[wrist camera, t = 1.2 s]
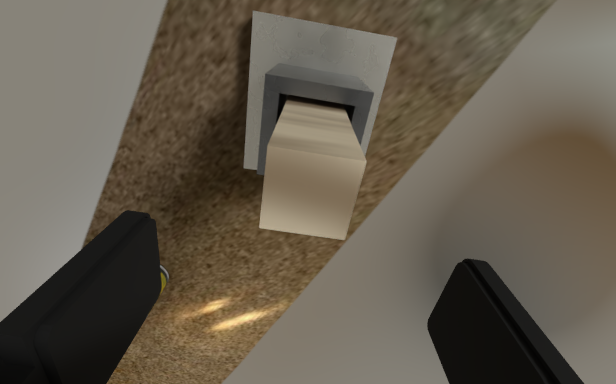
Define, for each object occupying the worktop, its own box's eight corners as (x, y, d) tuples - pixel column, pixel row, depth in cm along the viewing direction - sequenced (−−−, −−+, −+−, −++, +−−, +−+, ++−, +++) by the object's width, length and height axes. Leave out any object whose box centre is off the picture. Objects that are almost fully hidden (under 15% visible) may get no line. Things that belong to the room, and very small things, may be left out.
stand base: (257, 12, 25) (226, -1, 16) (391, 37, 26) (431, 38, 17) (247, 160, 32) (221, 208, 23) (354, 177, 32) (369, 230, 24)
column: (292, 83, 25) (265, 142, 11) (339, 91, 26) (369, 159, 12) (286, 129, 27) (256, 229, 13) (329, 136, 28) (346, 242, 14)
